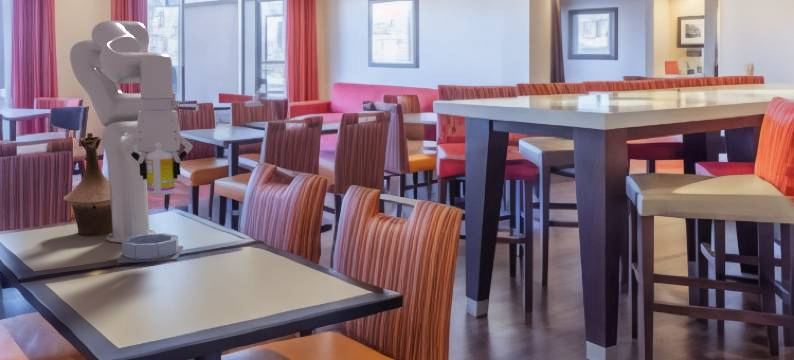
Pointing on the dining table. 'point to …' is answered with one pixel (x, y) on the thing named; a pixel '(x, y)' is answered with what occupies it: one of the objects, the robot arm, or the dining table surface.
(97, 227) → the brown tall tapered piece
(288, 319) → the dining table surface
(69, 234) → the dining table surface
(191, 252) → the dining table surface
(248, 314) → the dining table surface
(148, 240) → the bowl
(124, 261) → the mat
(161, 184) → the supplement bottle
